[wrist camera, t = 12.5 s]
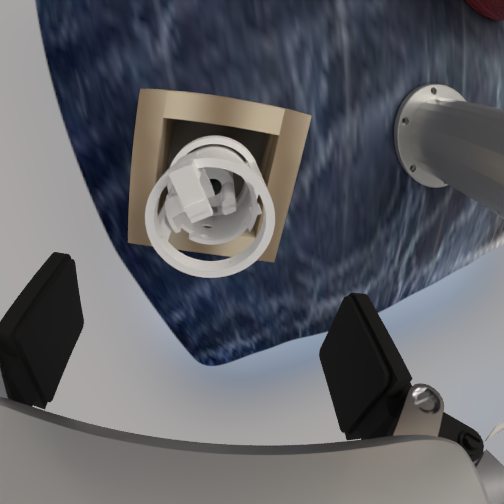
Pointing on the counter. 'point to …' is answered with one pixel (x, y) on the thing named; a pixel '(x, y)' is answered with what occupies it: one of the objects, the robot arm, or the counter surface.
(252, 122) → the beech holder block
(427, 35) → the counter surface
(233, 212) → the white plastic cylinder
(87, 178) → the counter surface
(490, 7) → the canister
